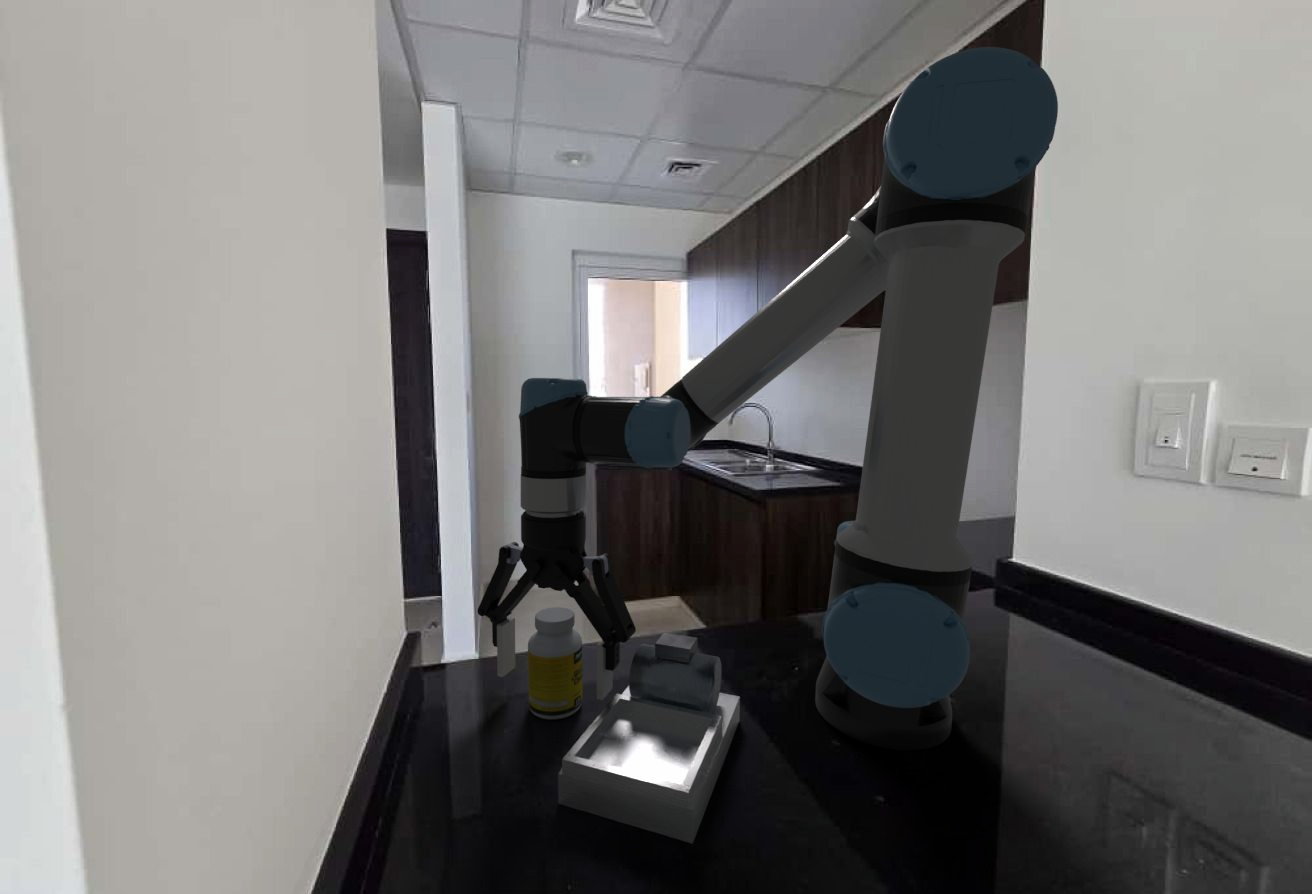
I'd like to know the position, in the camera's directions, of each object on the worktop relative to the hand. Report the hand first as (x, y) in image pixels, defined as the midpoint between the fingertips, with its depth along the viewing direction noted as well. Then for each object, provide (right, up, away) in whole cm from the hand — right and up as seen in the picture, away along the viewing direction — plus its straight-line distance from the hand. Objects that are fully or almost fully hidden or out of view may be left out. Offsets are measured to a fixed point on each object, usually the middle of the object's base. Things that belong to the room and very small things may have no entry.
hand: (554, 682), depth 68 cm
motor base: (+13, -4, -9) cm, 16 cm away
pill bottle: (0, -3, 0) cm, 3 cm away
